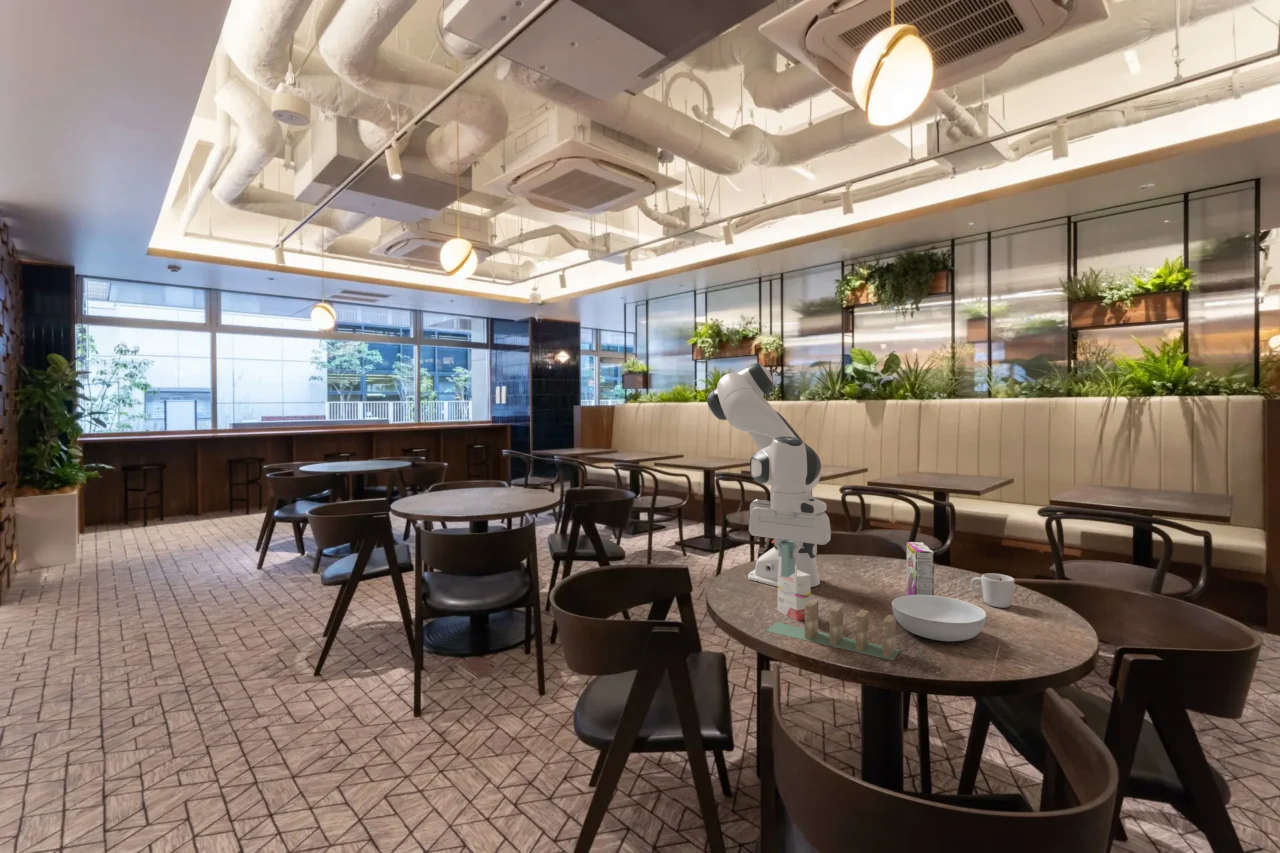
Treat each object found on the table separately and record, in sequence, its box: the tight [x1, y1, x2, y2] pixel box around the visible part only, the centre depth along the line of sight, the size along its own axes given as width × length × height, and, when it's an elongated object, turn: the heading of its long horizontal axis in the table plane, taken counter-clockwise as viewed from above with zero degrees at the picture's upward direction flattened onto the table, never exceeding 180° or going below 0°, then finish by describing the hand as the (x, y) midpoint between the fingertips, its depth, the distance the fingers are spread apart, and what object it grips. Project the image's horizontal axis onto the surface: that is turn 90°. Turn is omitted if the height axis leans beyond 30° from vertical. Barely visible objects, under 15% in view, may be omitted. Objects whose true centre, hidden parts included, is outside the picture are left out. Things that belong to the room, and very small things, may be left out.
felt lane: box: [765, 622, 901, 661], centre depth 143 cm, size 30×7×1 cm, turn 55°
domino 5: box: [882, 614, 897, 658], centre depth 135 cm, size 2×5×8 cm, turn 145°
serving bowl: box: [891, 595, 987, 642], centre depth 147 cm, size 21×21×7 cm
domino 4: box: [855, 609, 870, 651], centre depth 139 cm, size 2×5×8 cm, turn 145°
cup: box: [970, 572, 1016, 609], centre depth 168 cm, size 11×8×8 cm
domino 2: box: [804, 599, 819, 639], centre depth 146 cm, size 2×5×8 cm, turn 145°
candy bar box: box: [905, 541, 935, 596], centre depth 169 cm, size 11×5×16 cm, turn 168°
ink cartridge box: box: [777, 559, 812, 621], centre depth 160 cm, size 9×5×15 cm, turn 23°
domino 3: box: [829, 604, 844, 645], centre depth 142 cm, size 2×5×8 cm, turn 145°
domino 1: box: [781, 541, 795, 577], centre depth 148 cm, size 2×5×8 cm, turn 145°
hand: (788, 557), depth 148 cm, fingers closed on domino 1, 2 cm apart
